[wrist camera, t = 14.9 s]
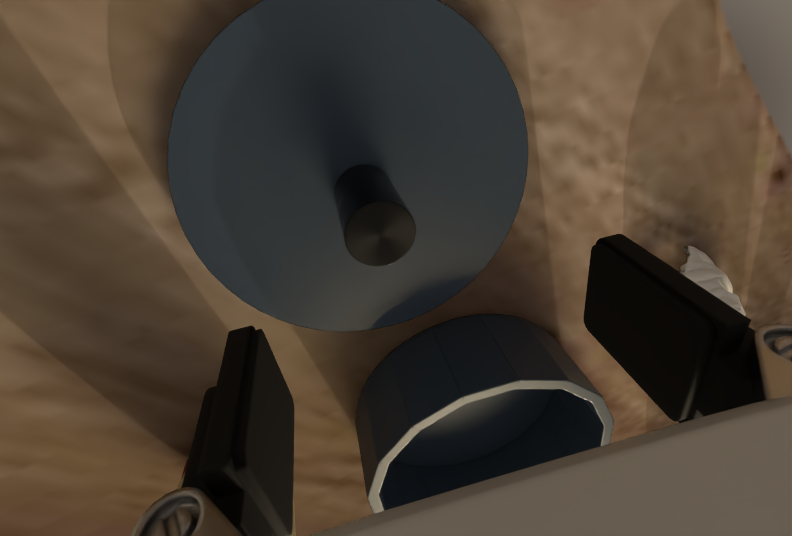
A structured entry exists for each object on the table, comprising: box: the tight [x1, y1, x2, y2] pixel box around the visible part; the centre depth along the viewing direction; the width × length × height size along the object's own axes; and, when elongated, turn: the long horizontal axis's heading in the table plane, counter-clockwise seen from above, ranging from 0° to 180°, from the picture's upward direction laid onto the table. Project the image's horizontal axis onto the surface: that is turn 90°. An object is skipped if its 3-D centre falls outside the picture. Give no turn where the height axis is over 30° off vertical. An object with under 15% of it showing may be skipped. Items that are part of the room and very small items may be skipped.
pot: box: [356, 314, 614, 514], centre depth 28 cm, size 16×16×6 cm
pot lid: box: [167, 0, 528, 332], centre depth 18 cm, size 17×17×6 cm
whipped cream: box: [680, 246, 745, 316], centre depth 28 cm, size 8×7×5 cm
